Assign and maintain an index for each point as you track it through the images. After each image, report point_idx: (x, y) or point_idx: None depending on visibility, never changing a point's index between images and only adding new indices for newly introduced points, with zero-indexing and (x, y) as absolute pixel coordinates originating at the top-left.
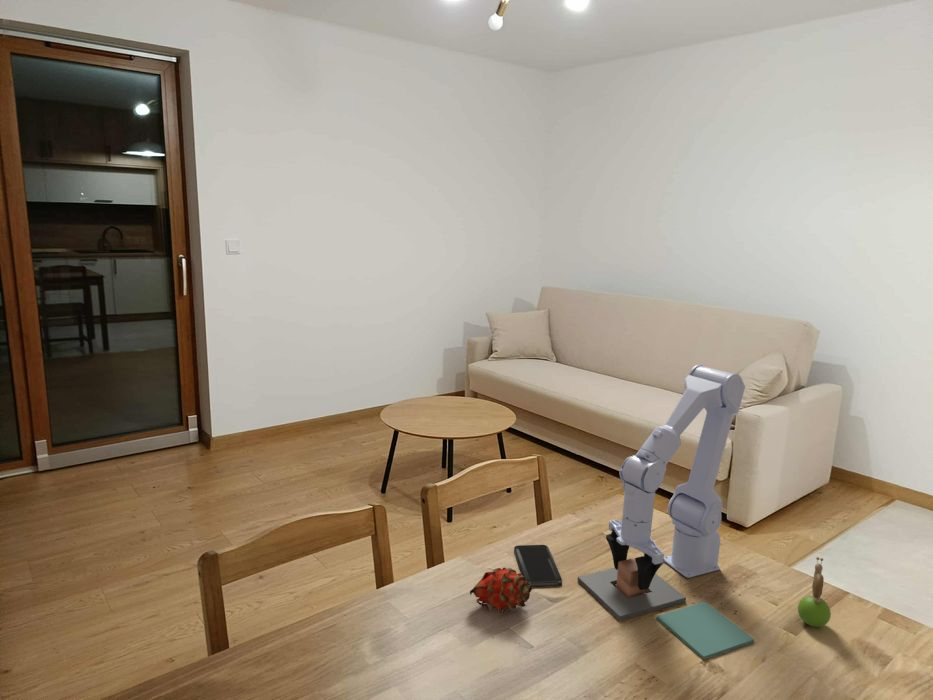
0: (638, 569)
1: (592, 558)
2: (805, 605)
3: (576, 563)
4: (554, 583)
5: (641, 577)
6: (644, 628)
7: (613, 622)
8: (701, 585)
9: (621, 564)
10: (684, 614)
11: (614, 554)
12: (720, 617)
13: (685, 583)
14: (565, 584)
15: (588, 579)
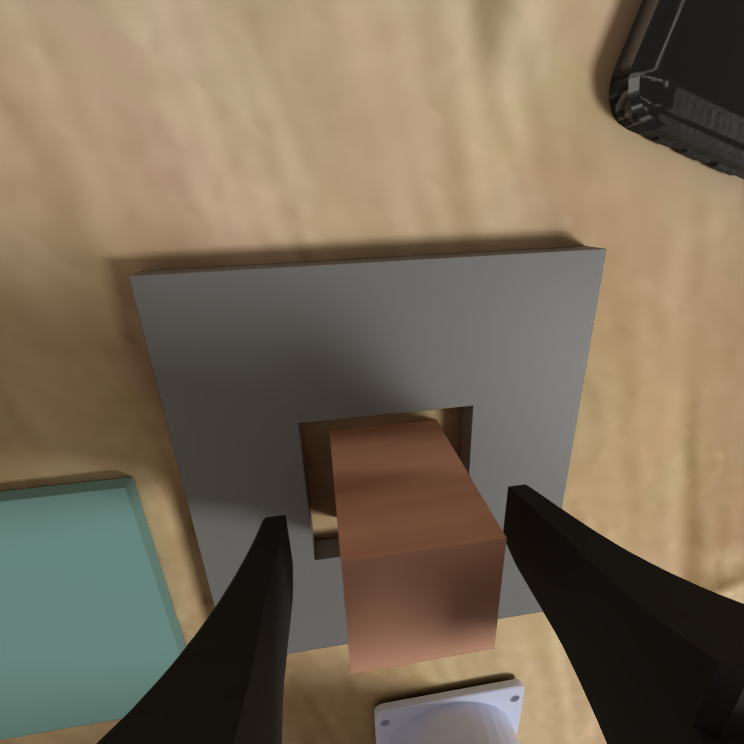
0: (243, 650)
1: (690, 435)
2: None
3: (711, 335)
4: (642, 36)
5: (221, 601)
6: (51, 375)
7: (137, 223)
8: (319, 723)
9: (467, 541)
10: (114, 604)
11: (588, 555)
12: (70, 712)
13: (351, 685)
14: (599, 143)
15: (550, 299)
